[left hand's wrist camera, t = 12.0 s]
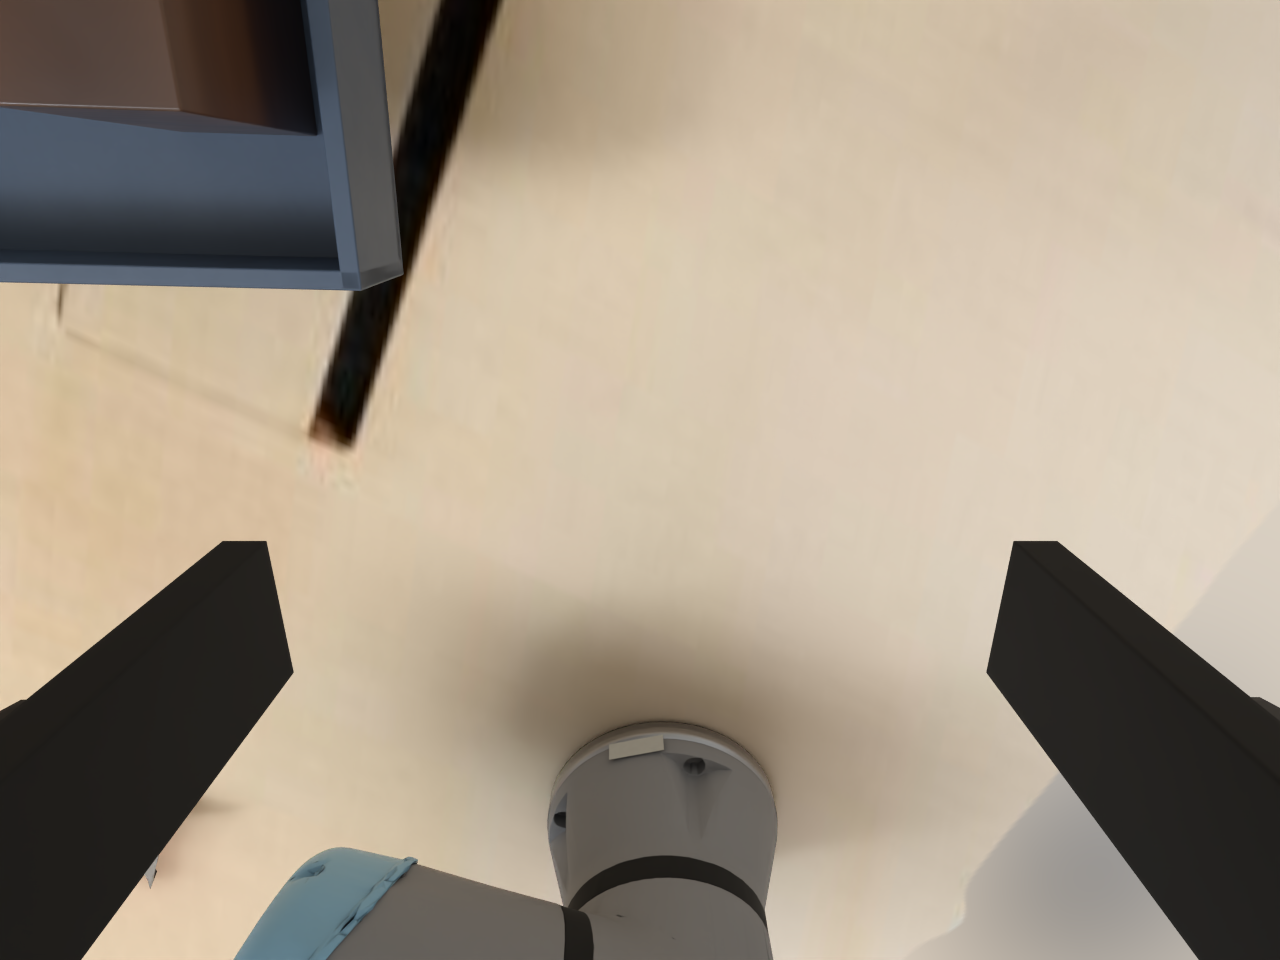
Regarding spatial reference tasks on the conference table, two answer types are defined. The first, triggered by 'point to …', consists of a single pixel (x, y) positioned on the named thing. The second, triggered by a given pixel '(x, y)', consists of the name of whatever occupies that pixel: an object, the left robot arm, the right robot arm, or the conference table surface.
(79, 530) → the conference table surface
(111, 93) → the block
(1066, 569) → the left robot arm
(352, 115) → the pan
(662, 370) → the conference table surface
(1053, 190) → the conference table surface
